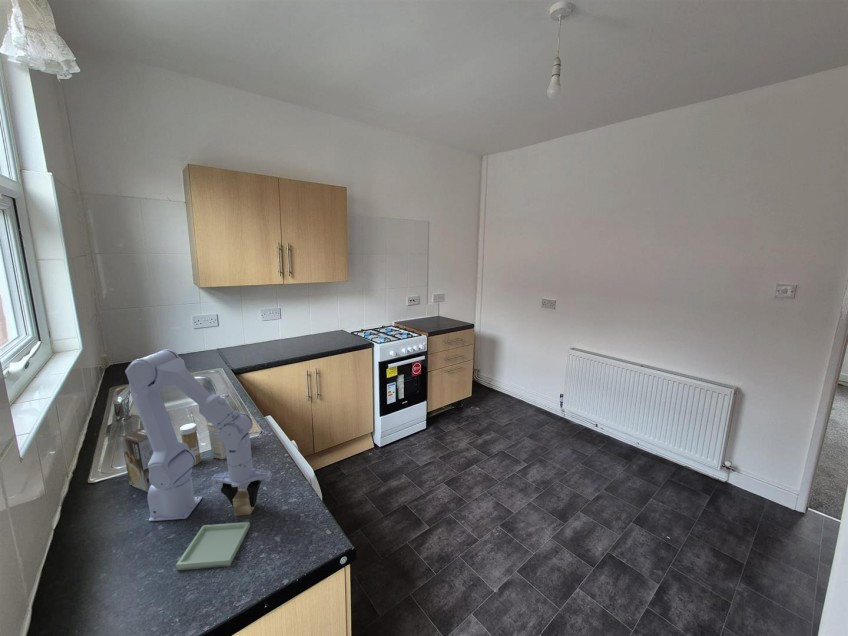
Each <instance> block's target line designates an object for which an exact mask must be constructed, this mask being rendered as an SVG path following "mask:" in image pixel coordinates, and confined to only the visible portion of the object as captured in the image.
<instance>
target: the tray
mask: <svg viewBox="0 0 848 636" xmlns="http://www.w3.org/2000/svg"><path fill="white" fill-rule="evenodd" d="M250 524H251V523H250V521H242V522H231V523H230V522H229V523H219V524H218V523H217V524H203V525H202V526H201V528H200V529H199V530H198V531H197V533H196V535H195V537H193V539H192V541H191V542H190V544H189V545H188V546H187V548H186V550H185V551H184V553H183V554H182V555H181V557H180V558H179V560H178V561H177V563H176V564H175V567H176V570H177V571H186V570H187V571H189V570H197V569H198V570H199V569H209V568H219V567H221V568H222V567H230V566H231V565H232V563H233V561H234V559H235V557H236V556H237V553H238V551H239V549H240V547H241V546H242V544H243V541H244V540H245V538H246V535H248V534H247V533H248V531H249V530H250V528H251V525H250Z"/></svg>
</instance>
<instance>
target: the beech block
mask: <svg viewBox="0 0 848 636" xmlns="http://www.w3.org/2000/svg"><path fill="white" fill-rule="evenodd" d="M256 505H257V503H256V504H255V506H254V507H251V505H250V497H249V494H248V491H247V488H240V489H239V488H238V492H237V493H236V495H235V496H234V498H233V507H234V509H233V515H234V517H238V516H250V515H251V514H252V512H253V510H254V508H255V507H256ZM233 507H232V508H233Z"/></svg>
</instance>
